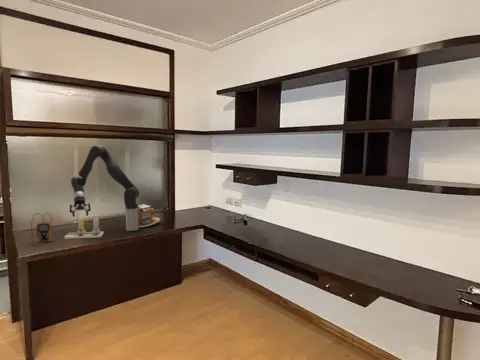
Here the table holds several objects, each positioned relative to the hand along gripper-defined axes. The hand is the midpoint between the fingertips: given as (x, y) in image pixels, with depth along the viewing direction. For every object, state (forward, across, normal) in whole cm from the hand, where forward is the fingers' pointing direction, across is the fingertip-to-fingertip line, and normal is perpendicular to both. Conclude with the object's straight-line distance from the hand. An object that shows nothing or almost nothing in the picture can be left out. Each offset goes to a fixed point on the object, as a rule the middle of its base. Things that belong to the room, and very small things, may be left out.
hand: (80, 216), depth 242 cm
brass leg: (+14, 0, +2) cm, 14 cm away
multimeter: (+19, -23, 0) cm, 30 cm away
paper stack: (+4, +48, +15) cm, 51 cm away
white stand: (+15, +2, +4) cm, 16 cm away
